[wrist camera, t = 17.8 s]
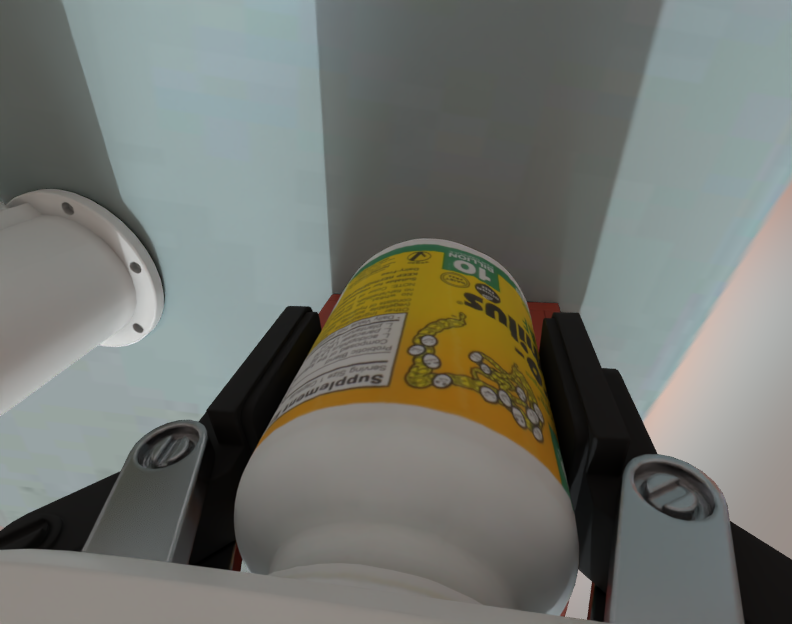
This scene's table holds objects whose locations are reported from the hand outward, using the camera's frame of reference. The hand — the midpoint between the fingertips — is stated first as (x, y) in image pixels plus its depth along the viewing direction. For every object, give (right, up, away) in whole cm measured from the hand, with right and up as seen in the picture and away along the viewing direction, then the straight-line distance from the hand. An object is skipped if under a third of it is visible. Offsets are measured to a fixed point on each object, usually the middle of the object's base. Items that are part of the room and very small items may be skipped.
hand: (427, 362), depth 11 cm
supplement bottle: (0, +1, +2) cm, 2 cm away
